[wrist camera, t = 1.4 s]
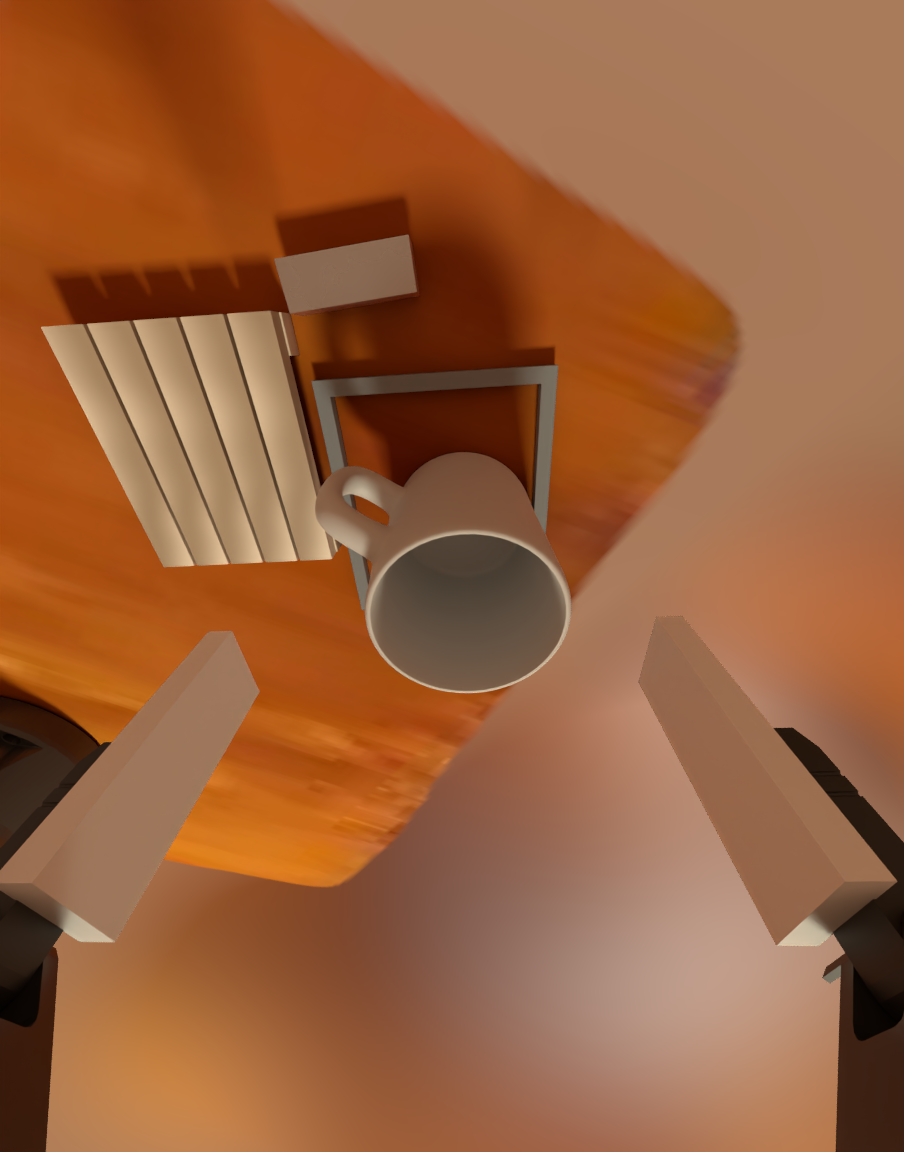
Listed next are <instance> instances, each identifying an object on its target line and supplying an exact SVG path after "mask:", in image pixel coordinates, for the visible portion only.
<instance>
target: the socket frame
mask: <svg viewBox="0 0 904 1152" xmlns="http://www.w3.org/2000/svg"><path fill="white" fill-rule="evenodd" d="M557 375H558V365H540V366H524V367H509V368H493V369H478V370H462V371H447V372H432V373H416V374H401V375H385V376H370V377H354V378H339V379H323V380H314V381H312V385H313V390H314V394H315V399H316V404H317V408H318V413H319V417H320V422H321V426H322V431H323V435H324V440H325V444H326V449H327V454H328V458H329V463H330V467H331V472H332V474H333V473H334V472H335V471H337V470H339V469H341V468H344V467H348V464H347V458H346V453H345V448H344V443H343V438H342V433H341V428H340V423H339V418H338V413H337V408H336V402H335V397H337V396H353V395H369V394H385V393H401V392H417V391H433V390H448V389H464V388H480V387H496V386H512V385H528V384H539V385H538V404H537V423H536V442H535V461H534V480H533V499H532V507H533V510H534V512H535V514H536V516H537V518H538V520H539V522H540V524H541V526H542V529H543V531H544V533H545V535H546V522H547V509H548V495H549V482H550V468H551V455H552V442H553V428H554V415H555V401H556V388H557ZM343 498H344V500H345V501H346V503H348V504H349V505H350V506H351V507H352V508H354V509H355V510H356V511H357V509H356V504H355V499H354V495H353V494H347V495H344V496H343ZM348 549H349V554H350V558H351V563H352V567H353V572H354V576H355V581H356V585H357V590H358V594H359V599H360V604H361V608H362V610H365V600H366V594H367V589H368V585H369V580H370V576H369V571H368V565H367V560H366V558H365V557H363V556H362V555H360V554H358V553H357V552H355V551H353V550H352V549H350V548H348Z"/></svg>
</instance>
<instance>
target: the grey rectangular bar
mask: <svg viewBox="0 0 904 1152" xmlns="http://www.w3.org/2000/svg"><path fill="white" fill-rule="evenodd" d="M274 261H275V264H276V268H277V271H278V275H279V278H280V281H281V285H282V288H283V292H284V295H285V299H286V302H287V305H288V309H289V312H290V314H294V315H299V316H307V315H312V314H318V313H324V312H330V311H336V310H342V309H348V308H354V307H360V306H366V305H371V304H377V303H383V302H389V301H395V300H401V299H407V298H413V297H419V296H420V293H419V286H418V279H417V272H416V265H415V259H414V252H413V245H412V242H411V239H410V237H409V234H408V235H403V236H397V237H392V238H386V239H381V240H375V241H370V242H364V243H359V244H353V245H348V246H342V247H337V248H331V249H326V250H320V251H315V252H309V253H304V254H298V255H293V256H287V257H282V258H276V259H274Z"/></svg>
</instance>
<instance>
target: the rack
mask: <svg viewBox="0 0 904 1152" xmlns="http://www.w3.org/2000/svg"><path fill="white" fill-rule="evenodd" d="M41 328H42V330H43V332H44V334H45V336H46V338H47V340H48V342H49V344H50V346H51V348H52V350H53V352H54V354H55V356H56V358H57V360H58V361H59V363H60V365H61V367H62V369H63V371H64V373H65V375H66V377H67V379H68V381H69V383H70V385H71V387H72V389H73V391H74V393H75V395H76V397H77V399H78V401H79V403H80V404H81V406H82V408H83V410H84V412H85V414H86V416H87V418H88V420H89V422H90V424H91V426H92V428H93V430H94V432H95V434H96V436H97V438H98V440H99V442H100V444H101V446H102V447H103V449H104V451H105V453H106V455H107V457H108V459H109V461H110V463H111V465H112V467H113V469H114V471H115V473H116V475H117V477H118V479H119V481H120V483H121V485H122V487H123V489H124V490H125V492H126V494H127V496H128V498H129V500H130V502H131V504H132V506H133V508H134V510H135V512H136V514H137V516H138V518H139V520H140V522H141V524H142V526H143V528H144V530H145V531H146V533H147V535H148V537H149V539H150V541H151V543H152V545H153V547H154V549H155V551H156V553H157V555H158V557H159V559H160V561H161V563H162V565H163V567H177V566H195V565H196V564H197V565H218V564H229V563H230V562H231V564H239V563H260V562H264V560H265V561H266V562H281V561H297V560H298V559H299V558H300V561H302V560H323V559H332V558H333V556H334V555H335V553H336V552H338V550H339V548H340V547H341V545H342V543H340V542H339V541H337V540H336V539H334V538H333V537H332V536H330V535H329V534H328V533H327V532H326V531H325V530H324V529H323V528H322V527H321V526H320V524H319V523H318V521H317V518H316V514H315V503H316V498H317V495H318V493H319V490H320V488H321V486H320V482H319V478H318V474H317V470H316V465H315V461H314V457H313V453H312V449H311V444H310V440H309V436H308V432H307V428H306V424H305V419H304V415H303V411H302V407H301V403H300V399H299V394H298V390H297V386H296V382H295V378H294V374H293V369H292V365H291V361H290V357H289V356H295V355H299V350H298V346H297V342H296V337H295V333H294V328H293V324H292V320H291V315H290V314H288V313H283V312H275V311H258V312H244V313H230V314H227V315H226V314H216V315H202V316H188V317H180V318H176V317H174V318H160V319H146V320H133V321H118V322H104V323H90V324H76V325H62V326H48V327H41Z"/></svg>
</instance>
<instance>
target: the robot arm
mask: <svg viewBox="0 0 904 1152" xmlns="http://www.w3.org/2000/svg"><path fill="white" fill-rule="evenodd" d="M639 684H640V686H641V688H642V690H643V692H644V694H645V695H646V697H647V699H648V701H649V703H650V705H651V707H652V709H653V711H654V713H655V715H656V716H657V718H658V720H659V722H660V724H661V726H662V728H663V730H664V732H665V734H666V736H667V737H668V739H669V741H670V743H671V745H672V747H673V749H674V751H675V753H676V755H677V757H678V759H679V761H680V762H681V764H682V766H683V768H684V770H685V772H686V774H687V776H688V777H689V779H690V782H691V783H692V785H693V787H694V789H695V791H696V793H697V795H698V797H699V799H700V801H701V802H702V804H703V806H704V808H705V810H706V812H707V814H708V816H709V818H710V820H711V821H712V823H713V825H714V827H715V829H716V831H717V833H718V835H719V837H720V839H721V841H722V843H723V844H724V846H725V848H726V850H727V852H728V854H729V856H730V858H731V859H732V862H733V864H734V865H735V867H736V869H737V871H738V873H739V875H740V877H741V879H742V881H743V882H744V884H745V886H746V888H747V890H748V892H749V894H750V896H751V898H752V900H753V902H754V904H755V905H756V908H757V909H758V911H759V913H760V915H761V917H762V919H763V921H764V923H765V925H766V927H767V929H768V930H769V932H770V934H771V936H772V938H773V940H774V942H775V944H776V945H777V946H819V945H820V944H822V943H823V942H824V941H825V940H826V939H828V938H829V937H830V936H831V935H833V934H834V935H835V937H836V938H837V940H838V942H839V943H840V945H841V947H842V948H843V950H844V951H845V954H844V955H842V956H841V957H840V958H838V959H837V960H835V961H834V962H833V963H831V964H830V965H828V966H827V967H826V969H825V972H824V975H823V977H822V978H823V979H825V980H826V981H828V982H829V983H831V982H833V981H834V980H836V979H837V978H839V977H840V976H841V985H840V986H841V987H840V1021H839V1057H838V1059H839V1060H838V1091H837V1125H836V1126H837V1127H836V1152H904V842H903V841H902V840H901V839H900V838H899V837H898V836H897V835H896V833H895V832H894V831H893V830H892V829H891V828H890V827H889V826H888V824H887V823H886V822H885V821H884V820H883V819H882V818H881V817H880V815H879V814H878V813H877V812H876V811H875V810H874V809H873V807H872V806H871V805H870V804H869V803H868V802H867V801H866V800H865V798H863V796H859V795H858V791H857V789H856V788H855V787H854V786H853V785H852V784H851V783H850V782H849V780H848V779H847V778H846V777H845V776H842V775H841V774H840V770H839V769H838V768H837V767H836V766H835V765H834V764H833V762H832V761H831V760H830V759H829V758H828V757H827V756H826V754H825V753H824V752H823V751H822V750H821V749H820V748H819V747H818V746H817V745H815V744H814V743H813V742H811V741H810V740H808V739H807V738H806V737H804V736H803V735H802V734H800V733H799V732H797V731H796V730H795V729H794V728H773V727H772V726H771V725H770V723H769V722H768V721H767V720H766V719H765V717H764V716H763V715H762V714H761V712H760V711H759V710H758V709H757V708H756V706H755V705H754V704H753V703H752V701H751V700H750V699H749V698H748V696H747V695H746V694H745V693H744V692H743V690H742V689H741V688H740V686H739V685H738V684H737V683H736V682H735V680H734V679H733V678H732V677H731V675H730V674H729V673H728V672H727V670H726V669H725V668H724V667H723V666H722V664H721V663H720V662H719V661H718V659H717V658H716V657H715V656H714V654H713V653H712V652H711V651H710V649H709V648H708V647H707V646H706V645H705V643H704V642H703V641H702V640H701V638H700V637H699V636H698V635H697V634H696V632H695V631H694V630H693V629H692V628H691V626H690V625H689V624H688V622H687V621H686V620H685V619H684V617H683V616H667V617H656V619H655V623H654V627H653V631H652V634H651V638H650V641H649V645H648V649H647V652H646V656H645V660H644V664H643V667H642V671H641V674H640V678H639ZM258 694H259V690H258V687H257V685H256V683H255V681H254V679H253V676H252V674H251V672H250V670H249V667H248V665H247V663H246V661H245V659H244V656H243V654H242V652H241V650H240V648H239V645H238V643H237V641H236V639H235V637H234V634H233V632H232V631H216V632H208V633H207V634H206V635H205V636H204V637H203V639H202V640H201V641H200V642H199V643H198V644H197V645H196V647H195V648H194V649H193V650H192V651H191V652H190V654H189V655H188V656H187V657H186V658H185V659H184V660H183V662H182V663H181V664H180V665H179V666H178V667H177V668H176V670H175V671H174V672H173V673H172V674H171V675H170V676H169V678H168V679H167V680H166V681H165V682H164V683H163V684H162V686H161V687H160V688H159V689H158V690H157V691H156V692H155V694H154V695H153V696H152V697H151V698H150V699H149V700H148V702H147V703H146V704H145V705H144V706H143V707H142V709H141V710H140V711H139V712H138V713H137V714H136V715H135V717H134V718H133V719H132V720H131V721H130V722H129V723H128V725H127V726H126V727H125V728H124V729H123V730H122V731H121V733H120V734H119V735H118V736H117V737H116V738H115V739H114V741H113V742H104V743H103V744H102V745H100V746H99V747H98V746H97V744H96V743H95V742H94V741H93V740H92V739H91V738H89V737H88V736H87V735H86V734H85V733H83V732H82V731H81V730H79V729H78V728H77V727H75V726H74V725H72V724H70V723H69V722H67V721H65V720H64V719H62V718H60V717H58V716H56V715H54V714H52V713H50V712H47V711H45V710H43V709H40V708H38V707H35V706H32V705H30V704H26V703H23V702H20V701H16V700H13V699H8V698H4V697H0V1152H46V1138H47V1122H48V1108H49V1092H50V1076H51V1060H52V1046H53V1031H54V1016H55V1001H56V1000H55V999H56V985H57V970H58V956H57V951H56V948H54V947H53V945H54V944H55V942H56V941H57V939H58V938H59V936H60V935H61V933H62V932H63V931H64V932H65V933H67V934H68V935H70V936H71V937H73V938H74V939H76V940H78V941H79V942H116V940H117V938H118V936H119V935H120V933H121V931H122V929H123V928H124V926H125V924H126V923H127V921H128V919H129V917H130V916H131V914H132V912H133V910H134V909H135V906H136V905H137V903H138V902H139V900H140V898H141V896H142V895H143V893H144V891H145V889H146V888H147V886H148V884H149V883H150V881H151V879H152V877H153V876H154V874H155V872H156V870H157V869H158V867H159V865H160V863H161V862H162V860H163V858H164V857H165V855H166V853H167V851H168V850H169V848H170V846H171V844H172V843H173V841H174V839H175V838H176V836H177V834H178V832H179V831H180V829H181V827H182V825H183V824H184V822H185V820H186V818H187V817H188V815H189V813H190V812H191V810H192V808H193V806H194V805H195V803H196V801H197V799H198V798H199V796H200V794H201V792H202V791H203V789H204V787H205V785H206V784H207V782H208V780H209V779H210V777H211V775H212V773H213V772H214V770H215V768H216V766H217V765H218V763H219V761H220V759H221V758H222V756H223V754H224V753H225V751H226V749H227V747H228V746H229V744H230V742H231V740H232V739H233V737H234V735H235V733H236V732H237V730H238V728H239V727H240V725H241V723H242V721H243V720H244V718H245V716H246V714H247V713H248V711H249V709H250V707H251V706H252V704H253V702H254V701H255V699H256V697H257V695H258Z"/></svg>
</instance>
